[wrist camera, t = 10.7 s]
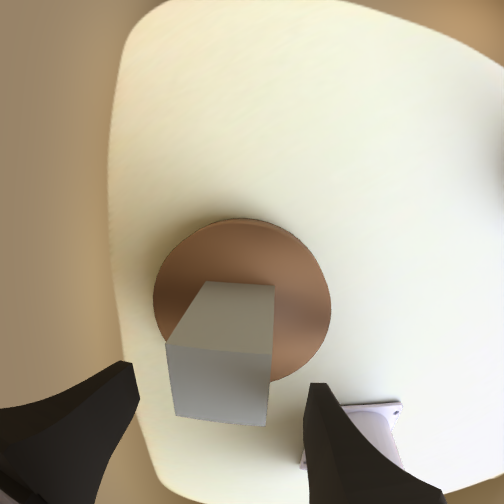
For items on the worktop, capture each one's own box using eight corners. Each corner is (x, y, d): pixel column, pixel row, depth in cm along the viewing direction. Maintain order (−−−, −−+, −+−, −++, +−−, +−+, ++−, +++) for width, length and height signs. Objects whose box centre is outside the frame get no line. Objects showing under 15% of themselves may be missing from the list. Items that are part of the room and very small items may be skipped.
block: (270, 344, 18) (265, 426, 11) (207, 339, 18) (175, 415, 12) (274, 285, 17) (272, 354, 10) (205, 281, 17) (165, 343, 11)
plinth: (314, 371, 21) (317, 388, 19) (170, 359, 21) (162, 374, 19) (334, 223, 18) (341, 229, 16) (160, 215, 19) (148, 220, 17)
